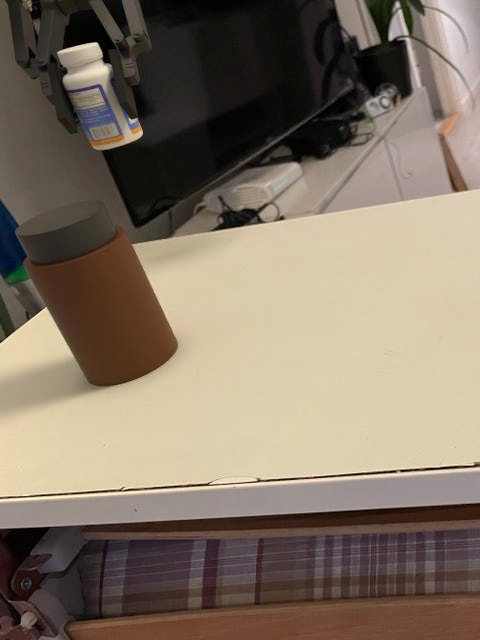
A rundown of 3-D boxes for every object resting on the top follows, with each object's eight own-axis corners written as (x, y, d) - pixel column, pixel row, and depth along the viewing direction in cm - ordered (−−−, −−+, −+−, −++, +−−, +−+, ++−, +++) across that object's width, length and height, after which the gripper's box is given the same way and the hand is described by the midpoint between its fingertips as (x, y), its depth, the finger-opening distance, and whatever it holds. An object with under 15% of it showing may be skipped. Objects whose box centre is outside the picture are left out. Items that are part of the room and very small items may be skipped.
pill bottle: (127, 133, 86) (88, 41, 81) (154, 134, 83) (115, 38, 78) (83, 150, 82) (39, 55, 77) (109, 151, 79) (65, 53, 74)
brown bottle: (66, 385, 66) (-17, 242, 59) (126, 336, 72) (57, 201, 66) (140, 386, 63) (62, 235, 56) (195, 334, 70) (131, 193, 63)
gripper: (158, -57, 88) (201, 117, 82) (-8, -21, 86) (25, 160, 80) (132, -114, 80) (177, 73, 75) (-50, -75, 78) (-18, 120, 73)
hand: (98, 118), depth 78 cm, fingers closed on pill bottle, 5 cm apart
